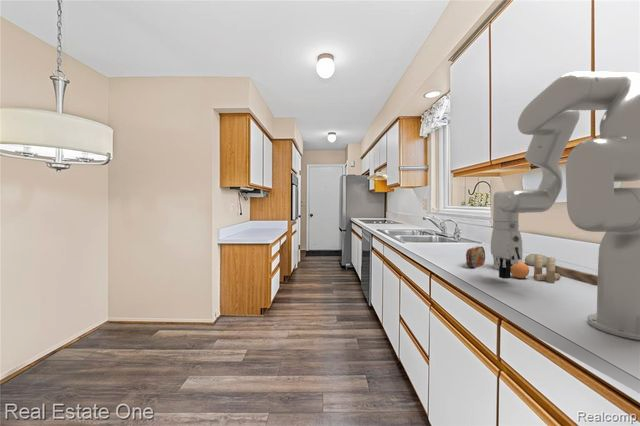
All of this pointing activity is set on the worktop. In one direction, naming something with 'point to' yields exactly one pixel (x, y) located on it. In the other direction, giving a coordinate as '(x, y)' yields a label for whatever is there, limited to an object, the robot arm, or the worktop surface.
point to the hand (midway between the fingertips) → (504, 277)
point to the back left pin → (538, 264)
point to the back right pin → (550, 270)
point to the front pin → (543, 277)
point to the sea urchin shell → (530, 260)
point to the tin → (475, 257)
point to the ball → (520, 270)
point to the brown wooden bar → (577, 275)
